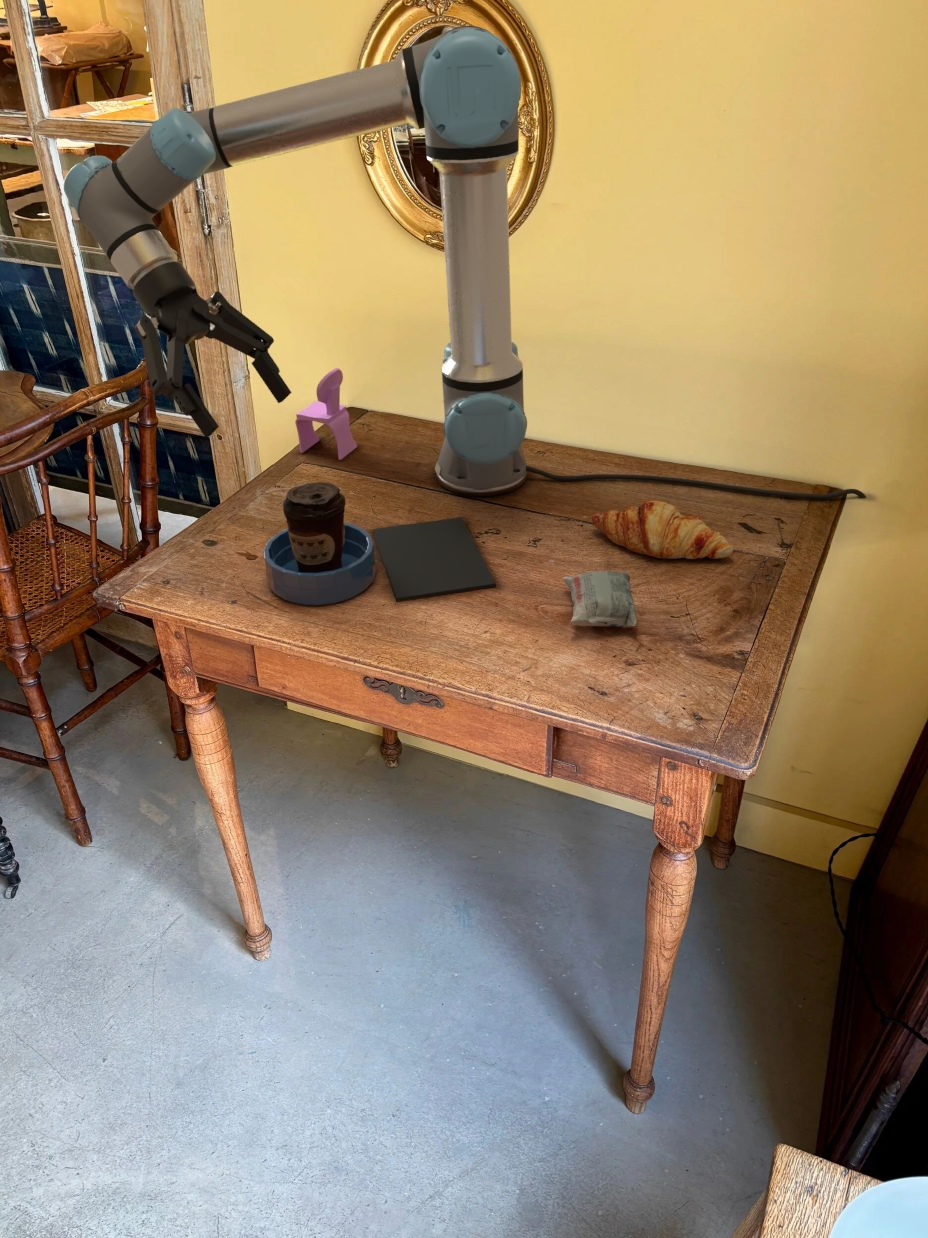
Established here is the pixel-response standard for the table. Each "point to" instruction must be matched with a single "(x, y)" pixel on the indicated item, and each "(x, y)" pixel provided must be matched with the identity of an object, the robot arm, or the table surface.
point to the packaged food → (602, 599)
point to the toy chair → (326, 416)
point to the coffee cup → (316, 526)
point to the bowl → (324, 584)
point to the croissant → (661, 532)
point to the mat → (431, 559)
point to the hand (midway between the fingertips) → (250, 414)
